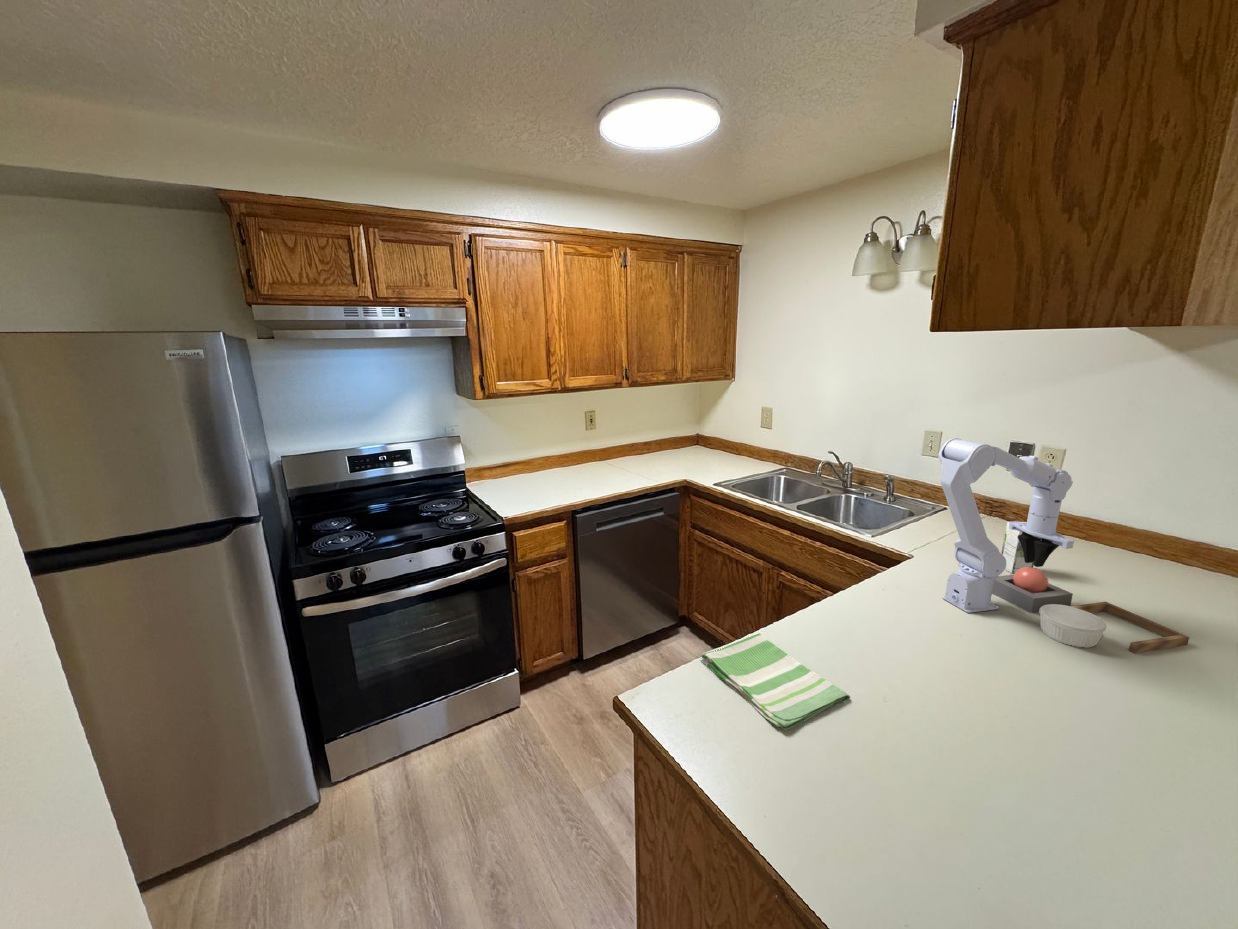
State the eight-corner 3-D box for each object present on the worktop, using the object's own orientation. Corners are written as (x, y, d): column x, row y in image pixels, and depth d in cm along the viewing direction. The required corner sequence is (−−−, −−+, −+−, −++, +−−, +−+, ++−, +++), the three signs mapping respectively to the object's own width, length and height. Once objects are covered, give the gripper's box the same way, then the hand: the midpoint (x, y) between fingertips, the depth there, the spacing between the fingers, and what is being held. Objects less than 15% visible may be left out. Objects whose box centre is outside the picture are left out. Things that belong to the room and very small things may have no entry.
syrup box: (1018, 566, 147) (1027, 521, 144) (1032, 575, 141) (1042, 528, 138) (998, 565, 148) (1006, 520, 144) (1011, 574, 142) (1020, 527, 139)
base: (1031, 613, 121) (1033, 598, 120) (986, 590, 132) (989, 577, 131) (1069, 608, 123) (1072, 593, 122) (1023, 586, 134) (1025, 573, 133)
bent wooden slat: (1134, 653, 104) (1136, 645, 104) (1055, 615, 120) (1057, 607, 119) (1187, 645, 107) (1189, 636, 107) (1103, 608, 122) (1105, 601, 122)
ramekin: (1043, 643, 108) (1047, 621, 107) (1030, 619, 118) (1033, 599, 117) (1110, 657, 103) (1116, 634, 102) (1091, 631, 113) (1095, 610, 112)
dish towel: (782, 737, 83) (783, 723, 82) (697, 663, 103) (697, 652, 102) (850, 701, 91) (851, 688, 91) (759, 639, 111) (759, 629, 111)
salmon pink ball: (1030, 600, 123) (1035, 575, 122) (1004, 588, 130) (1008, 563, 128) (1052, 597, 124) (1058, 572, 123) (1025, 585, 131) (1030, 561, 130)
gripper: (1088, 522, 116) (1076, 574, 119) (1027, 504, 130) (1018, 552, 133) (1064, 524, 115) (1053, 577, 118) (1005, 506, 129) (997, 554, 132)
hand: (1033, 564), depth 125 cm, fingers closed
